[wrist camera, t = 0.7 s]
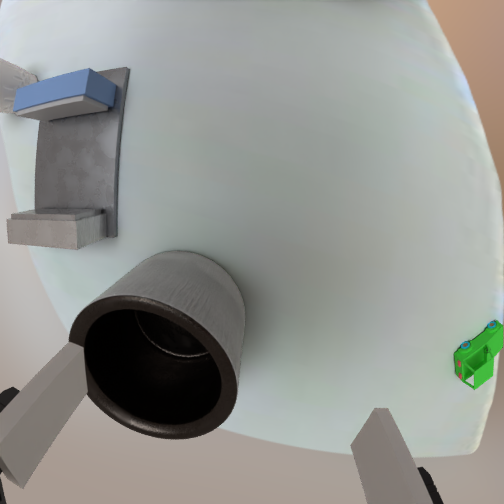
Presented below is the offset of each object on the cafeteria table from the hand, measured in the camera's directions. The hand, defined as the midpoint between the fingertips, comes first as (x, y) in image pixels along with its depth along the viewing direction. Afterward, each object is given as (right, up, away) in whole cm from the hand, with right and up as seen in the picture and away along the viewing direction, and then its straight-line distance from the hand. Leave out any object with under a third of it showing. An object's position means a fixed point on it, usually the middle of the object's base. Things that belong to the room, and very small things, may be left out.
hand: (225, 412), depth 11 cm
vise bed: (-22, +20, +21) cm, 37 cm away
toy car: (+41, -10, +28) cm, 50 cm away
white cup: (-34, +32, +19) cm, 51 cm away
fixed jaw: (-23, +11, +22) cm, 34 cm away
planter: (-8, -1, +26) cm, 27 cm away
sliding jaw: (-22, +26, +19) cm, 39 cm away
